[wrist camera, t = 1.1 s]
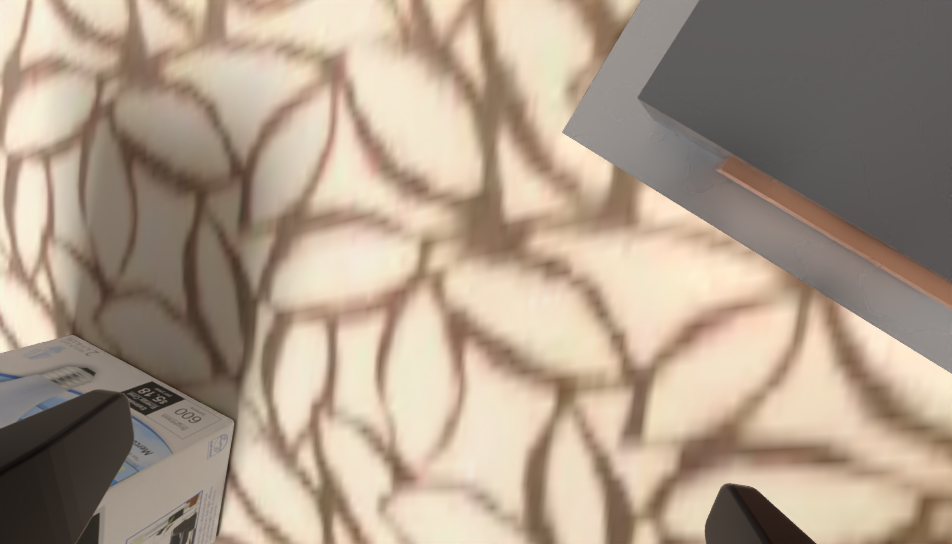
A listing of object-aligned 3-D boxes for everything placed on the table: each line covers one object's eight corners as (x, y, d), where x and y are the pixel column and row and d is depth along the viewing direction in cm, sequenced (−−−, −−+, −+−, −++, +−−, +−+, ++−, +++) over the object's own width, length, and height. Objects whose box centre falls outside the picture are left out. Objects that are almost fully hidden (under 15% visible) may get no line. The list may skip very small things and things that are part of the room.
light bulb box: (241, 417, 24) (-87, 594, 14) (221, 545, 25) (-82, 784, 15) (67, 328, 27) (-301, 421, 17) (60, 448, 29) (-276, 595, 19)
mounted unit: (1320, 181, 11) (1898, 190, 6) (1040, 425, 14) (1271, 593, 8) (716, -108, 14) (730, -280, 9) (569, 134, 17) (508, 115, 11)
